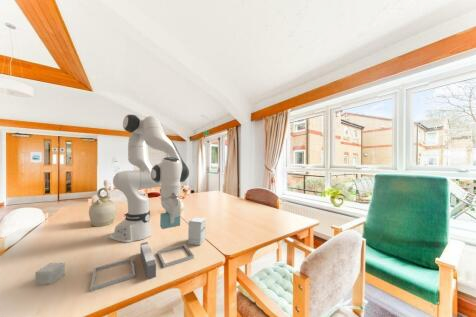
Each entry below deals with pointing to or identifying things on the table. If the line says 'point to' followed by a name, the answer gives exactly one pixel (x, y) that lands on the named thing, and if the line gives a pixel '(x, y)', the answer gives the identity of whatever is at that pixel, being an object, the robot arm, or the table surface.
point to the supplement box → (196, 231)
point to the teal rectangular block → (168, 221)
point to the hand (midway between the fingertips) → (170, 221)
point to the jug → (102, 210)
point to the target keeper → (94, 287)
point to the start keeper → (175, 260)
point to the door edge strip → (148, 260)
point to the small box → (49, 273)
